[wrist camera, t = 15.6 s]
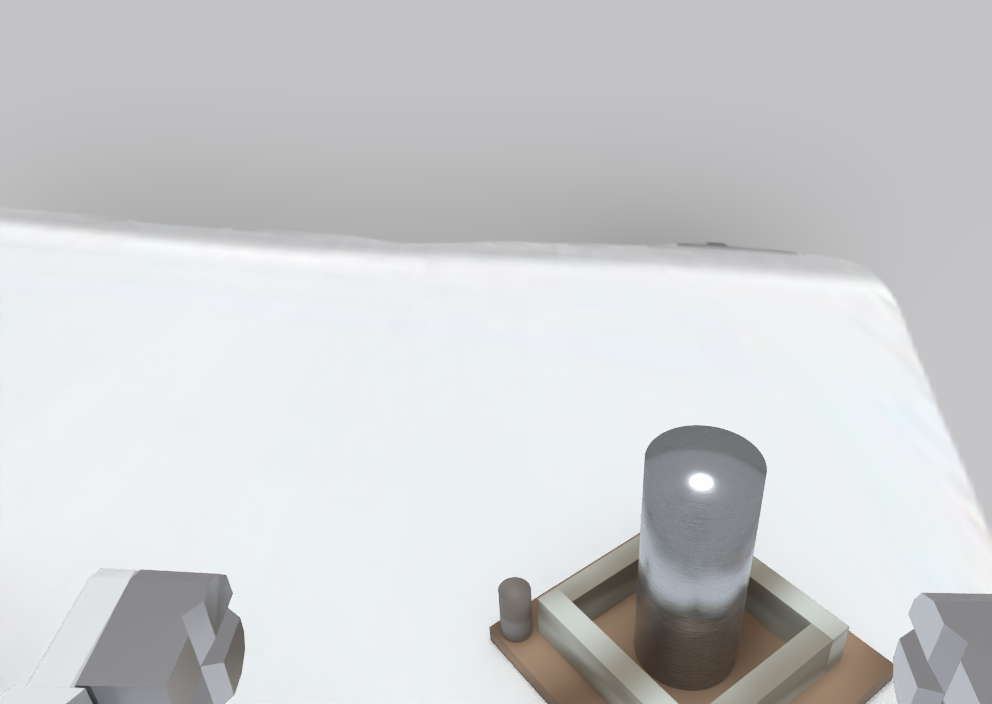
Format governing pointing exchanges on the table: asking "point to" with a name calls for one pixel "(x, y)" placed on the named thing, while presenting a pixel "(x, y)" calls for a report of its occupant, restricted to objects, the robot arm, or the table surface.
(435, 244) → the table surface
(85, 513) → the table surface
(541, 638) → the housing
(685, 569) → the pin
